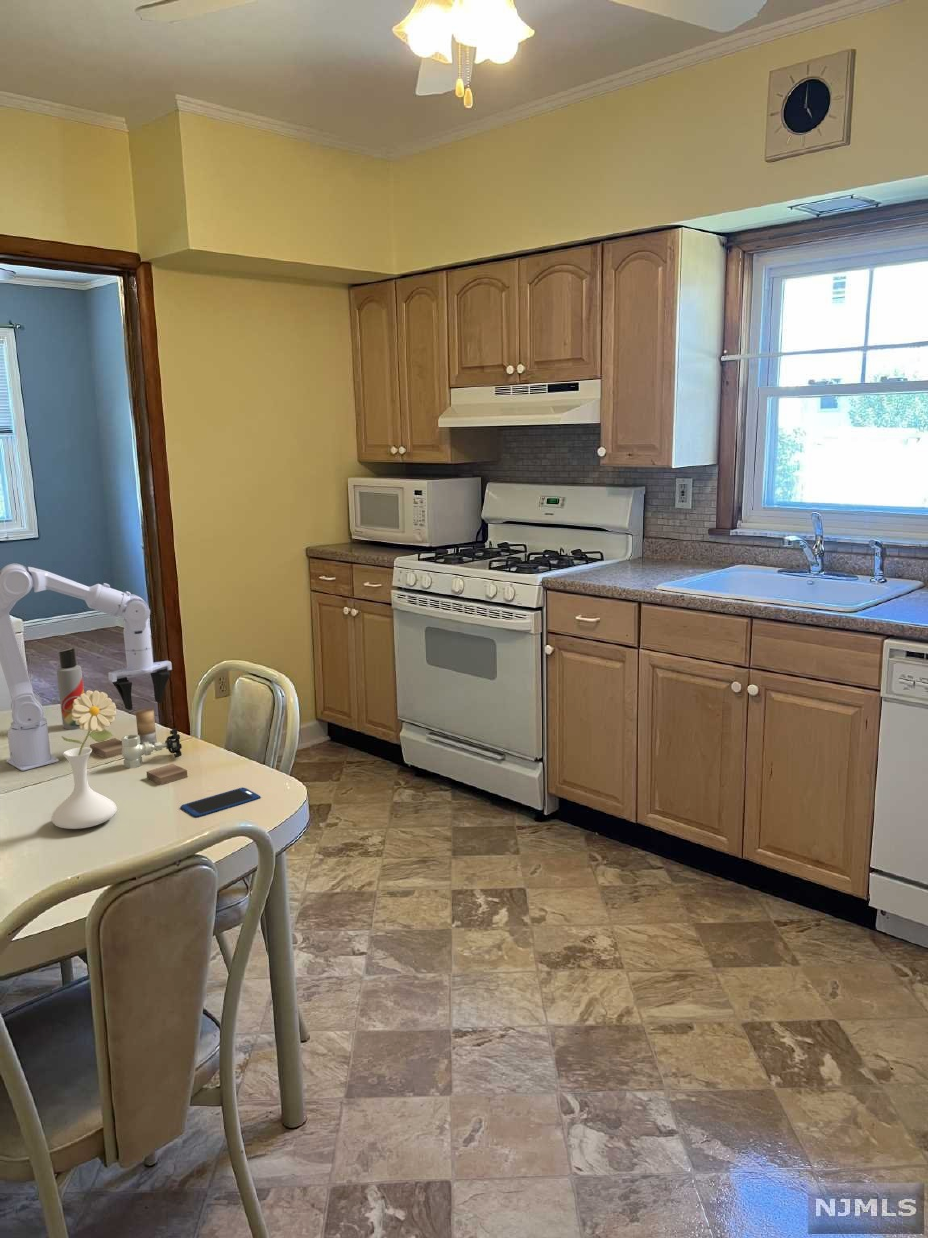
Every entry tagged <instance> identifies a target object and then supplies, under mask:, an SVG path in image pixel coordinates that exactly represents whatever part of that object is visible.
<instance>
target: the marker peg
mask: <svg viewBox="0 0 928 1238" xmlns="http://www.w3.org/2000/svg"><path fill="white" fill-rule="evenodd" d="M154 711H155V710H154V709H152V708H144V709H139V710H137V711H135V719H136V720H135V721H136V722H135V723H136V729H137V735H139V736H140V743H139V744H143V742H149V744H152V745H154V744H155V743H157V742H158V741H157V731H156V721H155V712H154Z"/></svg>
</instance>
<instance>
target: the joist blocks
mask: <svg viewBox="0 0 928 1238" xmlns="http://www.w3.org/2000/svg"><path fill="white" fill-rule="evenodd" d="M89 748H91V749H92V752H91V753H94V754H96V755H98V756H99V757H103V758H105V759H110V758H112V757H117V756H121V755H122V748H123V746H122V740H120V739H118V738H116V737H115V738H109V739H106V740H104V741H101V742H96V743H91V744H89ZM146 778H147V780H151V781H152V782H154V783H156V784H158V785H161V786H162V785H166V784H168V783H172V782H176V781H179V780H182V779H185V778H188V770H187V769H186V768H183V767H181V766H179V765H177V764H174V763H171V764H168V765H165V766H161V767H157V768H153V769H150V770H147V771H146Z"/></svg>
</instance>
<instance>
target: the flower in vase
mask: <svg viewBox="0 0 928 1238" xmlns="http://www.w3.org/2000/svg"><path fill="white" fill-rule="evenodd" d="M108 696H109V695H108V693H106V692H103V691H101V692H99V691H98V690H94V691H92V690H90V689H88V690H86V691H85V692H84V693H83V694H81V696H80V697H81V698H79V697H78V698H77V699H75V700H74V703H73V709H72V720H74V721H76V724H77V725H80V728H79V729H80V730H83V731H87V733H86V736H85V738H84V739H83V742H81V741H80V740H78V739H71V738H70V739H69V738H67V737H65V736H61V738H62V739H63V741H66V742H70V743H76V744H80V745H81V746H80V747H73V748H70V749H67V750H65V751H64V752H63V753H62V756H63V757H64V758H65V759H67V761H68V762H69V764H70V765H69V766H70V767H71V770H72V775H73V782H74V785H73V791H72V792H71V794H70V795H69V796H68V797H66V799H64V800H63V801H62V802H61V804H59V805H58V806H56V808H55V809H54V811H52V814H51V819H50V820H51V823H52V824H53V825H54V826H56V827H58V828H61V829H65V830H67V829H69V830H81V829H88V828H91V827H95V826H98V825H101V824H103V823H105V822H107V821H109V820H110V819H112V818H113V817H115V815H116V813H117V811H118V807H117V805H116V803H115V802H114V801H113V800H112V799H110V798H108V797H106V796H105V795H103V794H100V793H98V792H96V791H95V790H94V789H92V788H91V787H90V785H89V782H88V773H87V770H88V769H87V766H88V760H89V758H90V755H91V754H92V753H93V752H92V749H91V748H90V747H84V746H85V744H86V742H87V740H88V739H89V736H90V738H91V739H93V740H94V741H96V743H98V742H102V741H106V740H109V739H111V738H112V737H114V734H113V733H112V731H111V732H110V730H107V729H106V727H110V726H111V725H112V724H113V723H114V722H115V721H116V720H115V716H117V711H116V709H117V706H116V703H115V702H113V700H112V699H111V698H110V697H108Z"/></svg>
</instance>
